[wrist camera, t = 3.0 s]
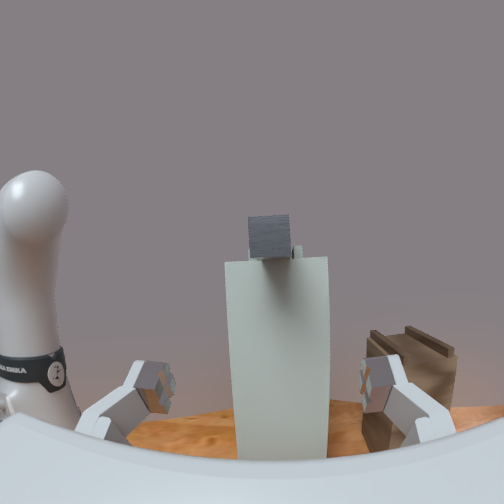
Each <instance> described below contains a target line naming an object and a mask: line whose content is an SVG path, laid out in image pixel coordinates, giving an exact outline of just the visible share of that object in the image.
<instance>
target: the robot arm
mask: <svg viewBox="0 0 504 504" xmlns="http://www.w3.org/2000/svg"><path fill="white" fill-rule="evenodd" d="M67 216H68V200H67V195H66V192H65V190H64V188H63V186H62V185H61V183H60V182H59V181H58V180H57V179H56V178H55V177H54V176H52V175H50V174H49V173H46V172H43V171H28V172H26V173H23V174H20V175H18V176H16V177H14V178H13V179H11V180H10V181H9V182H7V183H6V184H5V185H4V187H3V188H2V189H1V191H0V504H504V416H503V417H501V418H498V419H496V420H493V421H491V422H488V423H485V424H482V425H480V426H477V427H474V428H471V429H468V430H465V431H462V432H459V433H456V430H455V427H454V424H453V421H452V418H451V416H450V413H449V410H447V409H446V408H445V407H443V406H442V405H441V404H439V403H438V402H437V401H436V400H434V399H433V398H432V397H430V396H429V395H428V394H426V393H425V392H424V391H422V390H421V389H420V388H418V387H417V386H416V385H414V384H413V383H412V382H411V383H408V380H407V377H406V374H405V371H404V368H403V366H402V363H401V360H400V357H399V355H398V354H395V355H388V356H379V357H371V358H363V360H362V364H361V365H362V370H361V371H360V373H359V389H360V393H361V394H362V395H363V398H362V405H363V410H364V413H372V412H380V411H383V412H384V413H385V415H386V416H387V417H388V418H389V419H390V420H391V421H392V422H393V423H394V424H395V425H396V426H397V427H398V428H399V429H400V430H401V431H402V432H403V434H404V435H405V436H406V438H405V440H404V441H403V443H402V444H401V446H400V448H396V449H390V450H385V451H379V452H373V453H366V454H359V455H352V456H343V457H333V458H322V459H306V460H235V459H219V458H207V457H197V456H189V455H181V454H174V453H167V452H161V451H155V450H149V449H144V448H139V447H134V446H132V445H131V444H130V443H129V442H128V440H127V439H126V437H127V436H128V435H129V434H130V433H131V432H132V431H133V430H134V429H135V428H136V427H137V426H138V425H139V424H140V423H141V422H142V421H143V420H144V419H145V418H146V417H147V416H148V415H149V414H150V413H159V414H168V411H169V408H170V405H171V401H170V399H169V398H170V397H172V396H173V395H174V392H175V386H176V383H175V378H174V375H173V374H171V373H170V366H169V364H168V363H162V362H151V361H142V360H136V361H135V362H134V363H133V365H132V367H131V369H130V372H129V373H128V375H127V378H126V380H125V382H124V384H123V386H119V387H118V388H116V389H115V390H114V391H112V392H111V393H109V394H108V395H106V396H105V397H103V398H102V399H101V400H99V401H98V402H96V403H95V404H93V405H92V406H90V407H89V408H88V409H86V410H85V411H84V412H83V414H82V416H81V412H80V409H79V407H77V405H76V403H75V400H74V397H73V394H72V391H71V388H70V384H69V381H68V378H67V376H66V363H65V355H64V352H63V348H62V347H61V346H60V342H59V334H58V326H57V316H56V303H55V288H56V277H57V269H58V261H59V252H60V243H61V236H62V232H63V229H64V226H65V223H66V220H67Z"/></svg>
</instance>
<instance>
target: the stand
mask: <svg viewBox="0 0 504 504" xmlns="http://www.w3.org/2000/svg"><path fill="white" fill-rule="evenodd" d="M248 251H249V252H248V253H249V261H240V262H225V280H226V299H227V317H228V333H229V348H230V364H231V377H232V390H233V391H232V392H233V405H234V417H235V429H236V440H237V452H238V460H306V459H322V458H326V456H327V440H328V421H329V391H330V389H329V387H330V319H329V317H330V316H329V284H328V263H327V257H314V258H303V257H302V246H294V247H293V250H292V259H278V260H257V259H252V258H250V249H248Z"/></svg>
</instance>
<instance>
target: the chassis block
mask: <svg viewBox="0 0 504 504" xmlns="http://www.w3.org/2000/svg"><path fill="white" fill-rule="evenodd" d="M395 354H398V355H399V357H400V360H401V363H402V366H403V368H404V371H405V374H406V377H407V380H408V383H411V382H412V383H413V384H414V385H416V386H417V387H418V388H420V389H421V390H422V391H424V392H425V393H426V394H428V395H429V396H430V397H432V398H433V399H434V400H436V401H437V402H438V403H439V404H441V405H442V406H443V407H445V408H446V409H447V410H449V413H450V407H451V402H452V395H453V389H454V382H455V374H456V366H457V356H456V355H454V347H452V346H450V345H448V344H446V343H444V342H442V341H440V340H438V339H436V338H434V337H432V336H430V335H428V334H426V333H424V332H422V331H420V330H417V329H415V328H413V327H411V326H406V327H405V334H397V335H390V336H384V335H382V334H381V333H379V332H378V331H377V330H371V332H370V338H367V357H366V358H371V357H379V356H388V355H395ZM362 434H363V436H364V439H365V441H366V443H367V446H368V448H369V451H370V453H373V452H379V451H385V450H390V449H396V448H400V446H401V444H402V443H403V441H404V440H405V438H406V436H405V435H404V434H403V432H402V431H401V430H400V429H399V428H398V427H397V426H396V425H395V424H394V423H393V422H392V421H391V420H390V419H389V418H388V417H387V416H386V415H385V413H384V412H383V411H380V412H372V413H364V411H363V423H362Z"/></svg>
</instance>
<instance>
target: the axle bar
mask: <svg viewBox="0 0 504 504" xmlns="http://www.w3.org/2000/svg"><path fill="white" fill-rule="evenodd" d="M248 228H249V247H250V248H249V249H250V258H252V259H257V260H278V259H290V258H291V242H290V226H289V215H275V216H259V217H248Z"/></svg>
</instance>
